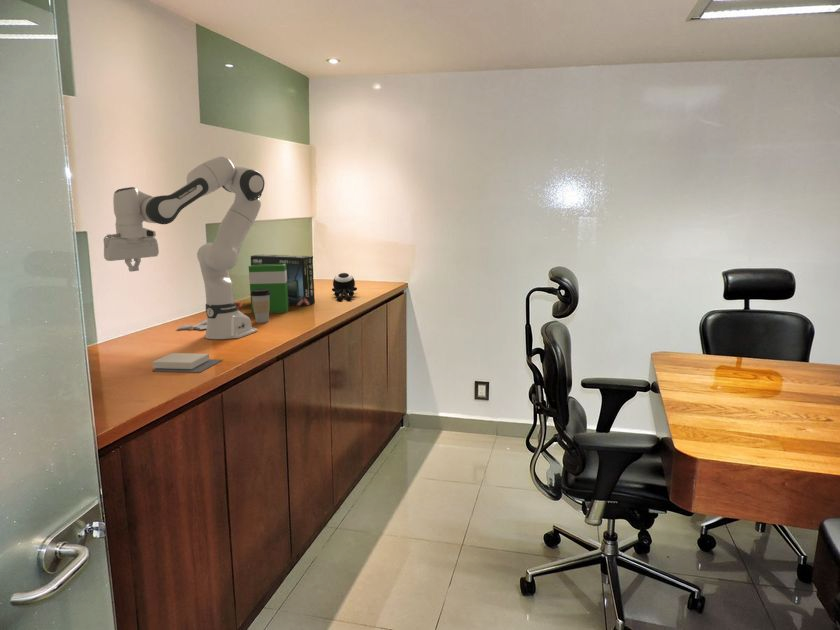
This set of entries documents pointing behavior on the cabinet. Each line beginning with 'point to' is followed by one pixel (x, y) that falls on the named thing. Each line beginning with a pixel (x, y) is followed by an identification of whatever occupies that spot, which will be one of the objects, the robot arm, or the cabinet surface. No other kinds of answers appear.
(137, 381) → the cabinet surface
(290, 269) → the router box
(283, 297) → the green cereal box
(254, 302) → the coffee cup
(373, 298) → the cabinet surface
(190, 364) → the ceramic tile
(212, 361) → the rubber mat
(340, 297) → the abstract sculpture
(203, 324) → the driftwood branch
